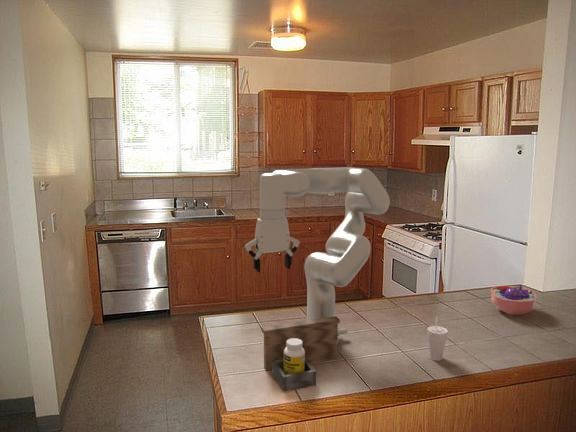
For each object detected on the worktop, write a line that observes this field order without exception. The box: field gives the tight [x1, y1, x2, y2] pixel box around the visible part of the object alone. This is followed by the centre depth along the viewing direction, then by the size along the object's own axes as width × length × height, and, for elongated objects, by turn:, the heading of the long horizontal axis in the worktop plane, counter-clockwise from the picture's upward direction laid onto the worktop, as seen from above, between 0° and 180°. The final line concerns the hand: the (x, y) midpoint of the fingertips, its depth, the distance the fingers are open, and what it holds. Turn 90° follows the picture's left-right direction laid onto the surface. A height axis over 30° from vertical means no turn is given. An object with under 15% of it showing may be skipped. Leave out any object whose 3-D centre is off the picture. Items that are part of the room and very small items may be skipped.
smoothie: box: [426, 316, 449, 362], centre depth 149 cm, size 6×6×14 cm
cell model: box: [490, 285, 538, 316], centre depth 188 cm, size 17×20×11 cm
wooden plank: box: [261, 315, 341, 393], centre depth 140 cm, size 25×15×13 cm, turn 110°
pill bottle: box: [283, 338, 305, 375], centre depth 136 cm, size 6×6×11 cm
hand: (272, 269), depth 143 cm, fingers open, 9 cm apart
